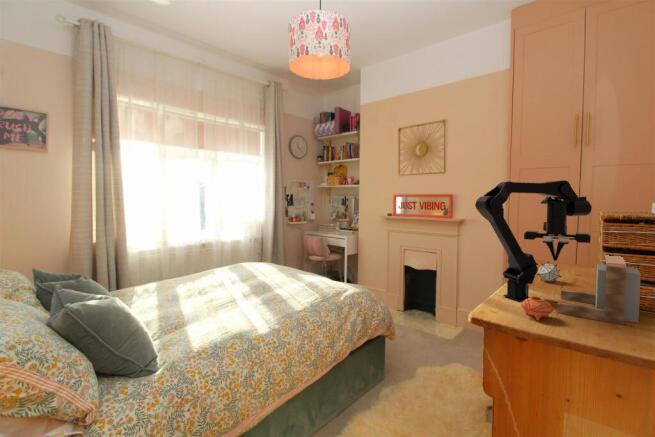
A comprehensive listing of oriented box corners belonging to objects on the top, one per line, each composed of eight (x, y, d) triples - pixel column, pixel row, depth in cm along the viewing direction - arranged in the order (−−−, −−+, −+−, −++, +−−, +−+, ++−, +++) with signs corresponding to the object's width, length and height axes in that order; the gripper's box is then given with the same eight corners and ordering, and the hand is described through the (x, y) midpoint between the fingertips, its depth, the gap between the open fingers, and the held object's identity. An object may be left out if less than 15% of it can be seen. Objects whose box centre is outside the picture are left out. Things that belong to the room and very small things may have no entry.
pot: (539, 310, 99) (543, 291, 97) (556, 326, 91) (561, 306, 89) (513, 310, 99) (517, 291, 97) (528, 326, 91) (533, 305, 89)
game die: (554, 291, 131) (571, 275, 125) (534, 284, 131) (551, 268, 125) (546, 276, 138) (562, 260, 132) (527, 269, 138) (543, 253, 132)
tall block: (596, 316, 94) (598, 269, 93) (595, 305, 103) (596, 263, 102) (638, 323, 89) (640, 274, 88) (633, 311, 97) (635, 266, 96)
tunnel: (557, 312, 97) (558, 258, 96) (561, 297, 111) (562, 250, 110) (623, 324, 88) (626, 264, 87) (619, 306, 102) (621, 254, 100)
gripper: (591, 215, 111) (589, 259, 112) (528, 214, 123) (528, 254, 124) (591, 217, 102) (589, 265, 103) (524, 216, 114) (523, 259, 115)
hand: (555, 260), depth 112 cm, fingers closed
